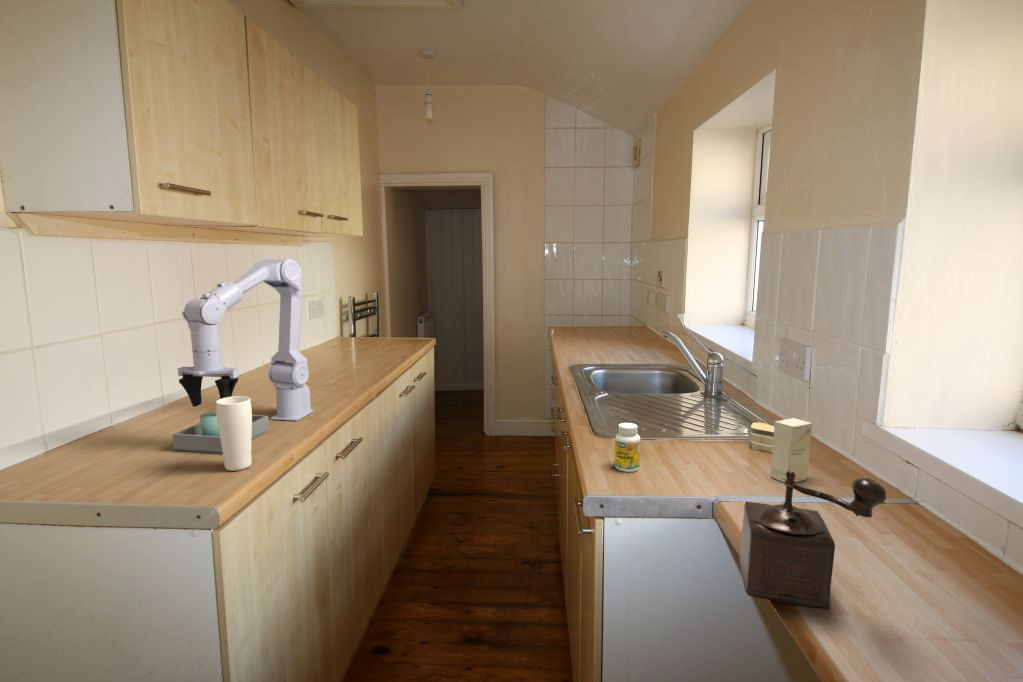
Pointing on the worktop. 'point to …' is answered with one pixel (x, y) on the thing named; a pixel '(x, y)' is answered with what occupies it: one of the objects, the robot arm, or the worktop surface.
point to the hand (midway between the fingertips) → (211, 406)
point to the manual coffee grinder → (796, 545)
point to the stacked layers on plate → (762, 437)
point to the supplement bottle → (627, 448)
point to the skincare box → (791, 449)
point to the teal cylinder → (209, 424)
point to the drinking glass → (235, 431)
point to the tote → (212, 437)
